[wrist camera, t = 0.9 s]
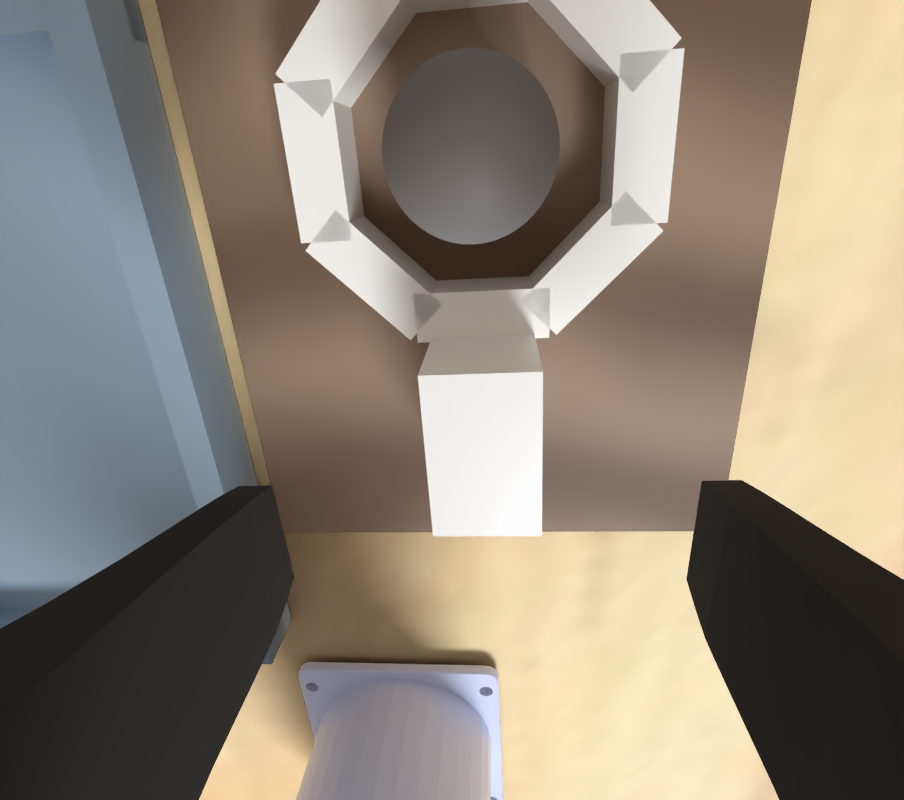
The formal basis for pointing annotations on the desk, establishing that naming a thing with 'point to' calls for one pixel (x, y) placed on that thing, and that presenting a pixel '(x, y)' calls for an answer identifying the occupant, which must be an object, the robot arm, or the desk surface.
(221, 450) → the tray
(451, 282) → the ring
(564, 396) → the stake board
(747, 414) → the desk surface
